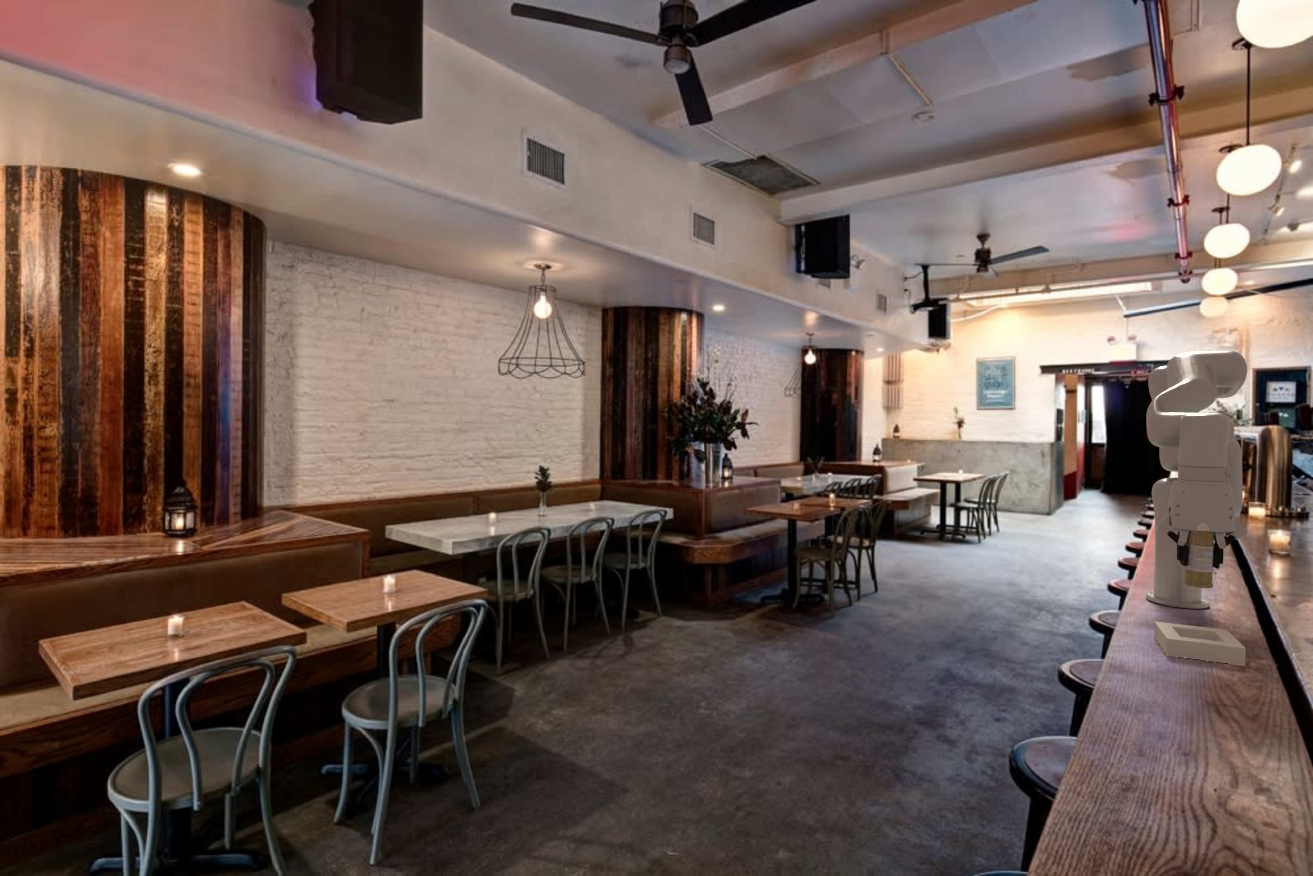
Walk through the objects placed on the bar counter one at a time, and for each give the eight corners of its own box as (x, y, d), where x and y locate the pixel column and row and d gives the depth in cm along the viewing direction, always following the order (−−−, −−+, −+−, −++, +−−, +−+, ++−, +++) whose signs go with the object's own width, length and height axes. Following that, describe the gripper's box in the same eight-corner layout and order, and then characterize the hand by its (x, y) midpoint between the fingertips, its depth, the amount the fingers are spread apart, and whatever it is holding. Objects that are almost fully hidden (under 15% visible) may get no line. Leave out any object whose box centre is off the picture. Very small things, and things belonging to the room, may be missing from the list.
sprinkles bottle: (1187, 582, 137) (1189, 517, 136) (1216, 586, 133) (1218, 520, 133) (1181, 585, 134) (1183, 519, 133) (1210, 590, 130) (1212, 522, 130)
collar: (1154, 637, 142) (1154, 621, 142) (1226, 646, 136) (1226, 629, 136) (1166, 655, 131) (1167, 638, 131) (1245, 666, 126) (1245, 648, 126)
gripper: (1250, 475, 132) (1247, 566, 133) (1146, 472, 140) (1144, 558, 140) (1263, 478, 125) (1260, 574, 126) (1153, 475, 133) (1151, 565, 134)
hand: (1199, 564), depth 133 cm, fingers closed on sprinkles bottle, 4 cm apart
